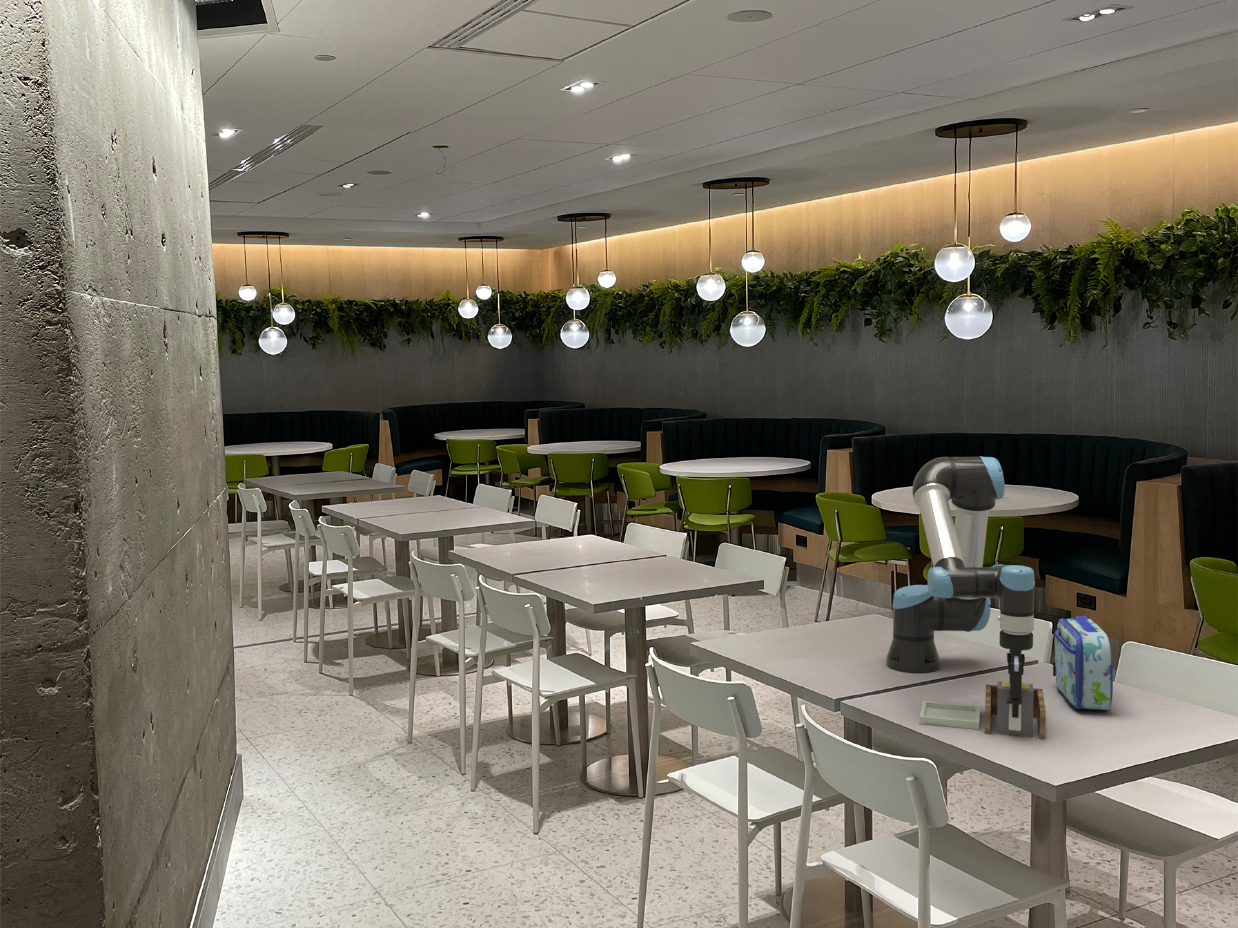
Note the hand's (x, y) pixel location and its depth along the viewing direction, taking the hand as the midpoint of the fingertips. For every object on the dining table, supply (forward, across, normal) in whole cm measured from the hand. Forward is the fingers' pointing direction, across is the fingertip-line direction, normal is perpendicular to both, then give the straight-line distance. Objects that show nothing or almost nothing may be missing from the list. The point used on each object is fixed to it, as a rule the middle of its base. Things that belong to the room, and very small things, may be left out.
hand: (1014, 724), depth 256 cm
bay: (+1, -5, 0) cm, 5 cm away
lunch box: (+2, -30, +17) cm, 35 cm away
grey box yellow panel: (+1, 0, 0) cm, 1 cm away
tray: (+1, -5, -15) cm, 16 cm away
